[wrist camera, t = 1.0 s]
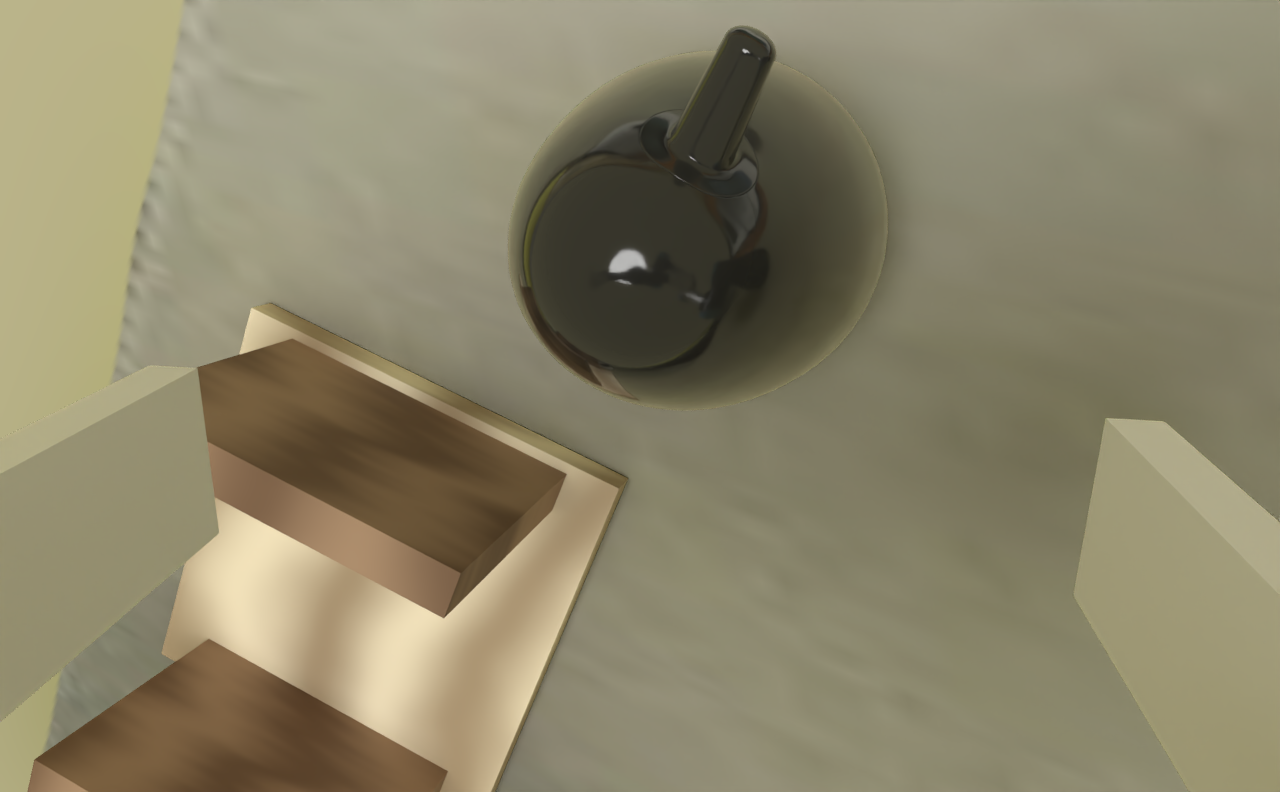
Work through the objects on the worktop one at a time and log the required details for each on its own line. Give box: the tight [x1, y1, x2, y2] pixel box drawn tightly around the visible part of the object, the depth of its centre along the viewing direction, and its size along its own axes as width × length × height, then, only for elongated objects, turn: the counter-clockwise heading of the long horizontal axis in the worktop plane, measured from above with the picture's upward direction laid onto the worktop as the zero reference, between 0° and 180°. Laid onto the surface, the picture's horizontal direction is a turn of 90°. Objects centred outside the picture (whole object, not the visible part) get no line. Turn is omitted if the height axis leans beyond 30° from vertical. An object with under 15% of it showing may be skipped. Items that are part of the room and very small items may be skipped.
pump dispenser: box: [508, 25, 888, 411], centre depth 26 cm, size 10×10×15 cm
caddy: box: [28, 303, 628, 792], centre depth 36 cm, size 16×17×10 cm
